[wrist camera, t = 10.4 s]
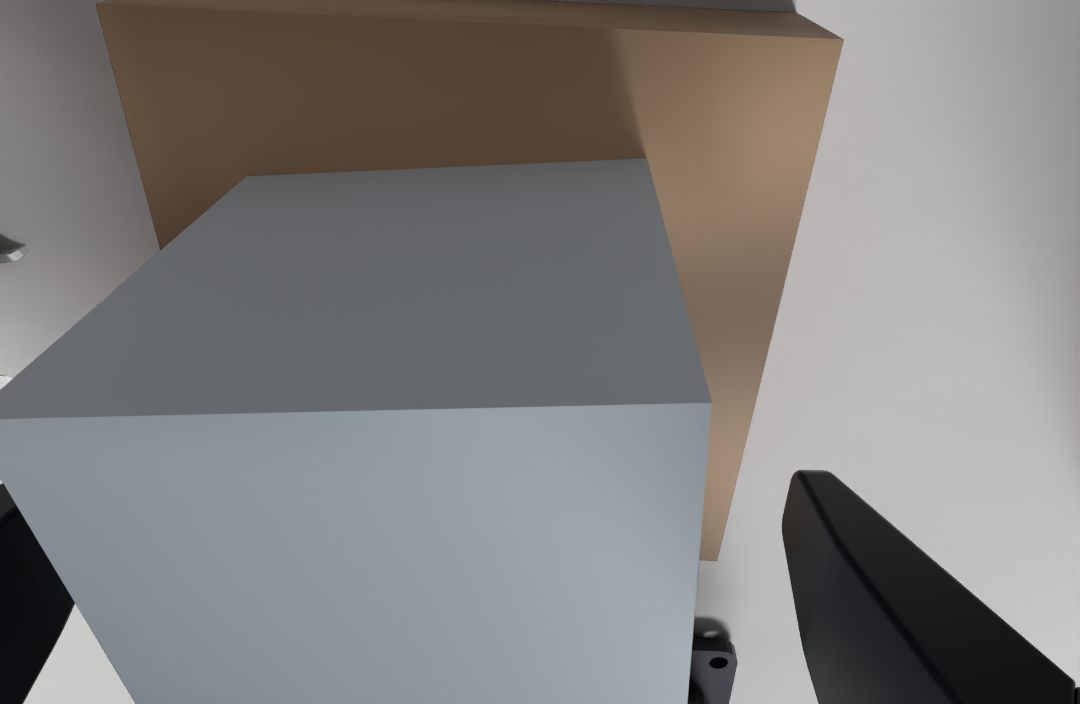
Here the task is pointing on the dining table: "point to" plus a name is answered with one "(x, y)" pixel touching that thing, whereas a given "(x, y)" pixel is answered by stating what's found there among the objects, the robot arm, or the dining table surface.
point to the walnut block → (507, 128)
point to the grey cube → (383, 445)
